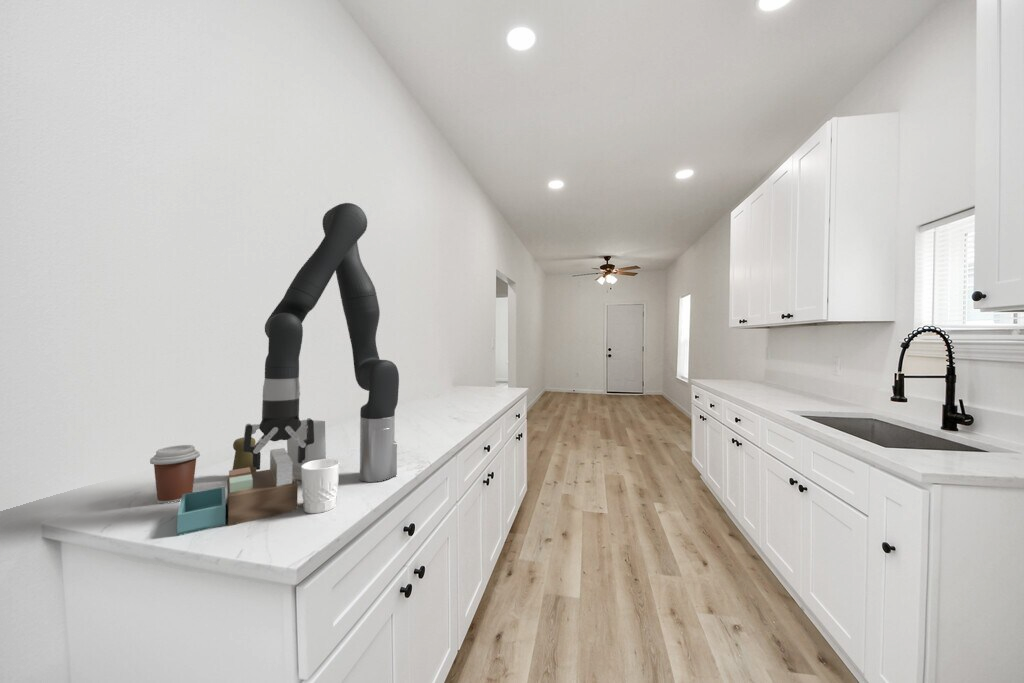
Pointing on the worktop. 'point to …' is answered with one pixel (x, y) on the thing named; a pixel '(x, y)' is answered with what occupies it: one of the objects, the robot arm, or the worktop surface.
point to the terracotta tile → (239, 472)
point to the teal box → (201, 510)
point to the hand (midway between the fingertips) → (279, 465)
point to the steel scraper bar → (281, 467)
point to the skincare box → (307, 447)
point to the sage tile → (240, 483)
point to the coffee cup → (174, 472)
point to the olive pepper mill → (243, 455)
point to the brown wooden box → (261, 499)
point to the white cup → (320, 485)
